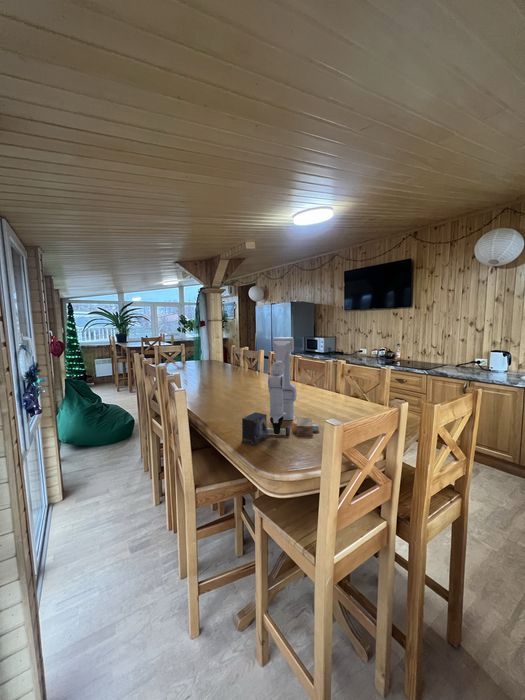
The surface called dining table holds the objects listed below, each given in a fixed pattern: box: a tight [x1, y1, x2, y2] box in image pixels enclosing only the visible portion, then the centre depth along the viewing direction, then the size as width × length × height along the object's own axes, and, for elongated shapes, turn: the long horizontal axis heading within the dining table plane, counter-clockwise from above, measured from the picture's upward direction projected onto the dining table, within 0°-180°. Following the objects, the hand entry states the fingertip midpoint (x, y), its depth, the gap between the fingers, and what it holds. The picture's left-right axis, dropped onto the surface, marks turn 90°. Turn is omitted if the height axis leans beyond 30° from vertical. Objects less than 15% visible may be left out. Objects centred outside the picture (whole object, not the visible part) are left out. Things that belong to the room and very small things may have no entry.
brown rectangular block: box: [292, 419, 320, 434], centre depth 142 cm, size 12×6×4 cm, turn 84°
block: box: [296, 417, 314, 436], centre depth 142 cm, size 7×12×4 cm, turn 174°
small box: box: [241, 411, 268, 446], centre depth 132 cm, size 11×6×10 cm, turn 148°
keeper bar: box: [267, 427, 286, 435], centre depth 137 cm, size 8×1×2 cm, turn 84°
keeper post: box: [285, 425, 291, 437], centre depth 137 cm, size 2×2×4 cm
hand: (277, 433), depth 133 cm, fingers closed
